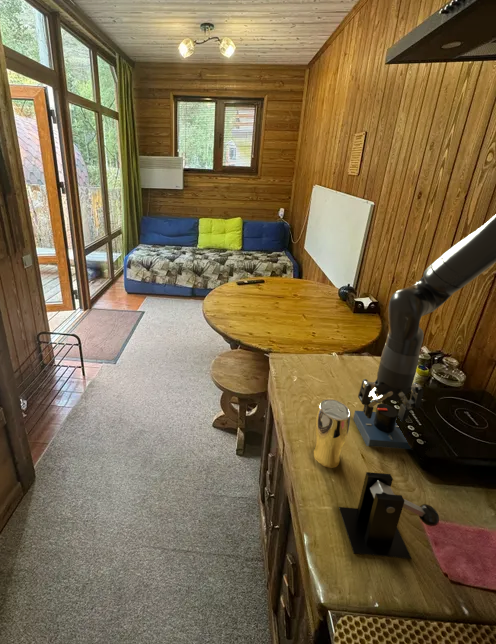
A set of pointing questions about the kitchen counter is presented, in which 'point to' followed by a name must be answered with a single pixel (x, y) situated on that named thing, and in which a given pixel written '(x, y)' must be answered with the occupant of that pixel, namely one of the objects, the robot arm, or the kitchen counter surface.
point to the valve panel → (378, 433)
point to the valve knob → (385, 418)
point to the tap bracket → (375, 521)
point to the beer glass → (331, 431)
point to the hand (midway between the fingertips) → (384, 417)
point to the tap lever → (410, 505)
